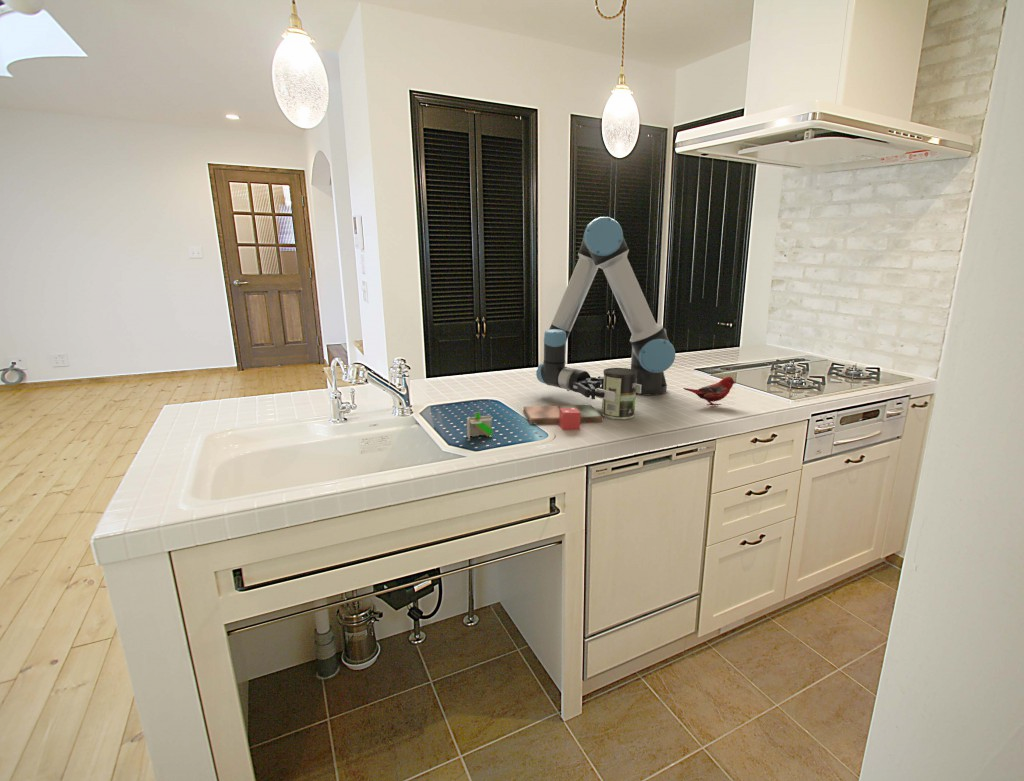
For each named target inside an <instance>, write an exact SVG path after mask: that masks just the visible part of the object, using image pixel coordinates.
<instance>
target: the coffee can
mask: <svg viewBox="0 0 1024 781" xmlns="http://www.w3.org/2000/svg"><path fill="white" fill-rule="evenodd" d="M637 374H638V372H637V371H636V370H633V369H631V368H628V367H627V368H626V367H608V368H605V369H603V377H604V382H603V389H604V390H608V391H612V392H615V401H614V402H613V401H609V400H605V399H602V401H601V402H602V404H601V405H602V406H601V416H602V417H605V418H608V419H613V420H630V419H632V418H634V417H635V410H636V409H635V408H636V382H637Z"/></svg>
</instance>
